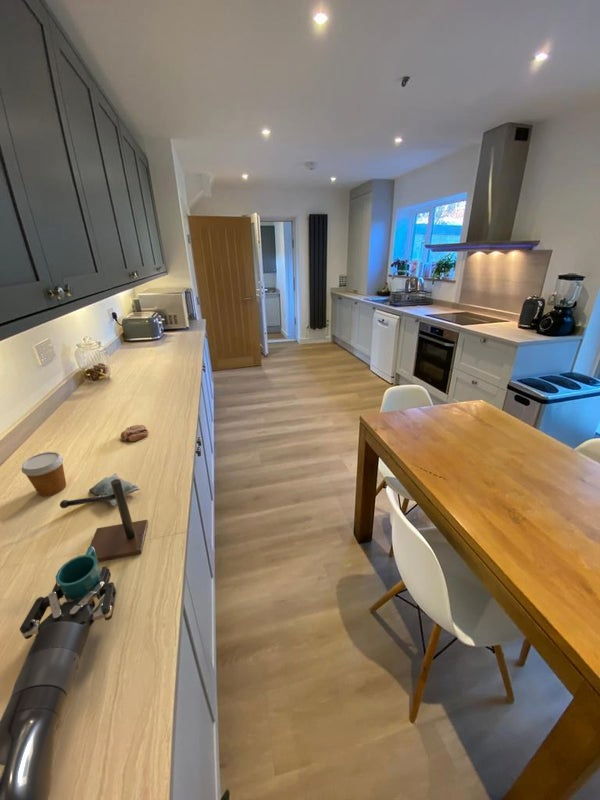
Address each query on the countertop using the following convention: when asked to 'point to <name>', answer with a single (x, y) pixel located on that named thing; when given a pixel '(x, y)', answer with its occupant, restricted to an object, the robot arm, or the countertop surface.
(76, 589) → the mug
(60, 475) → the disposable coffee cup
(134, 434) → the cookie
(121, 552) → the mug stand
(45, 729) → the robot arm
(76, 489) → the countertop surface
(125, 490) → the grey bean bag
